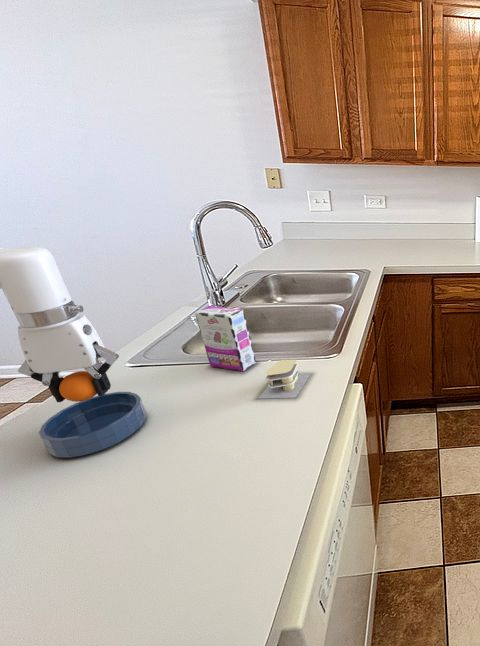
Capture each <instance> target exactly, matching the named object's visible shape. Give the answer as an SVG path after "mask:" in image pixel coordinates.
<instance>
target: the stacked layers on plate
mask: <svg viewBox="0 0 480 646" xmlns="http://www.w3.org/2000/svg"><path fill="white" fill-rule="evenodd" d="M296 362H297V359H280V360H279V361H277V362H276V363H275V364H273V365H272V366H270V367H269V368H268V369H266V370H265V372H264V373H265V375H266V377H265V378H266V379H267V380H268V383H267V386H266V387H265V389H264V390H263V391H262V392H261V394H260V395H259V396H258V399H289V398H290V399H292V398H293V399H294V398H295V399H296V398H297V396H298V395H299V394H300V392H301V390H302V388H303V387H304V385H305V384H306V382H307V381H308V380H309V378H310V376H311V373H309V374H306V373H304V374H303V373H302V374H299V370H297V367H298V364H297V363H296Z"/></svg>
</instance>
